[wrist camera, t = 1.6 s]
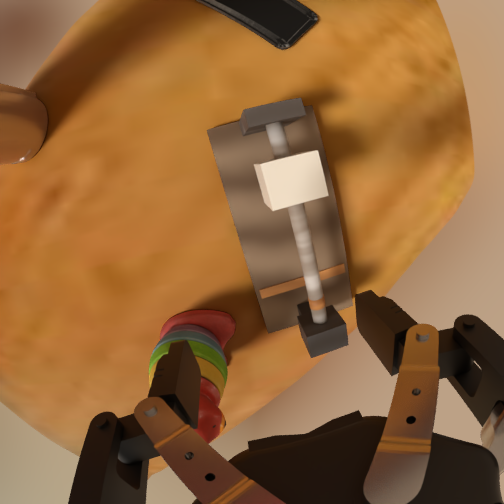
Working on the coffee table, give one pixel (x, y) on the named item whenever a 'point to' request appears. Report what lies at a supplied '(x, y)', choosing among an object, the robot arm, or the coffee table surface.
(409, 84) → the coffee table surface
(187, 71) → the coffee table surface
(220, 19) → the coffee table surface
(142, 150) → the coffee table surface
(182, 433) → the robot arm
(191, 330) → the stacking bear
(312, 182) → the sleeve
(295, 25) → the phone
